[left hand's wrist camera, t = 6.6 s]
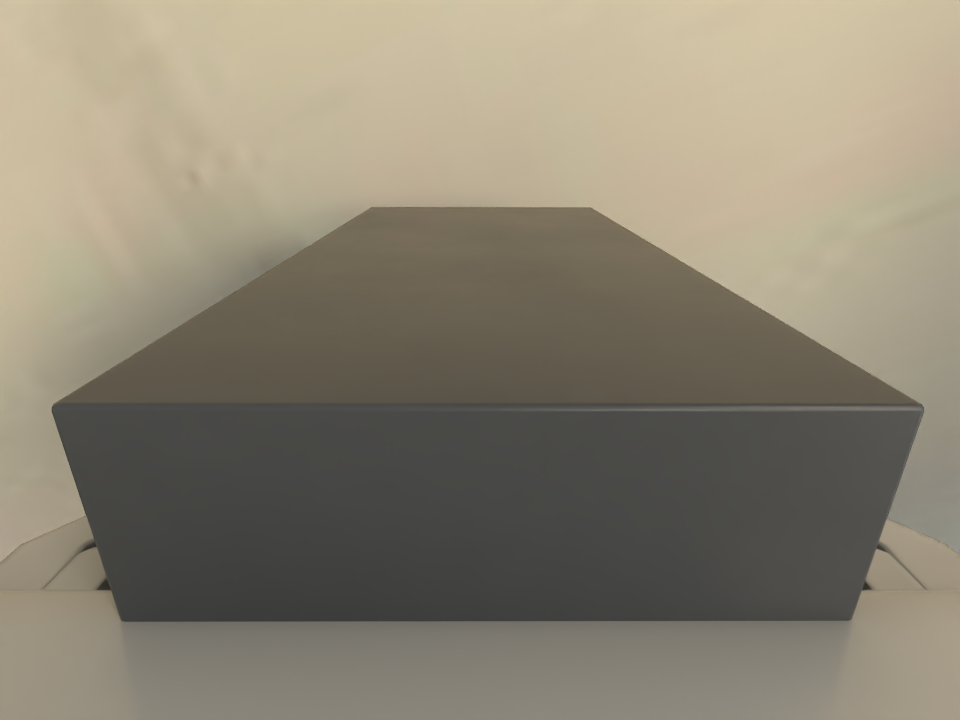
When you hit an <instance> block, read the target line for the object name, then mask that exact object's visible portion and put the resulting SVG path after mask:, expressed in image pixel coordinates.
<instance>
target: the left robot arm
mask: <svg viewBox="0 0 960 720" xmlns="http://www.w3.org/2000/svg"><path fill="white" fill-rule="evenodd" d="M0 720H960V555H958V554H957V553H956V552H955V551H954V550H953V549H952V548H950V547H949V546H948V545H946V544H943V543H941V542H939V541H937V540H934V539H932V538H930V537H928V536H925V535H923V534H921V533H919V532H916V531H914V530H912V529H910V528H907V527H905V526H903V525H901V524H898V523H896V522H894V521H892V520H889V519H886V522H885V525H884V528H883V531H882V534H881V537H880V539H879V542H878V545H877V548H876V551H875V554H874V557H873V560H872V562H871V565H870V568H869V571H868V574H867V577H866V580H865V583H864V586H863V588H862V591H861V594H860V597H859V600H858V603H857V606H856V609H855V611H854V614H853V617H852V620H849V621H311V622H124V621H121V619H120V616H119V613H118V610H117V607H116V604H115V601H114V598H113V595H112V592H111V589H110V586H109V583H108V580H107V577H106V574H105V571H104V568H103V565H102V562H101V559H100V556H99V552H98V549H97V546H96V543H95V540H94V537H93V534H92V531H91V528H90V525H89V522H88V519H87V516H84V517H82V518H80V519H78V520H75V521H73V522H71V523H69V524H66V525H64V526H62V527H60V528H57V529H55V530H53V531H51V532H48V533H46V534H44V535H42V536H39V537H37V538H35V539H33V540H31V541H28V542H26V543H24V544H22V545H20V546H19V547H18V548H17V549H15V550H14V551H13V552H12V553H11V554H10V555H9V556H7V557H6V558H5V559H4V560H3V561H2V562H1V563H0Z"/></svg>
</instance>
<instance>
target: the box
mask: <svg viewBox="0 0 960 720" xmlns="http://www.w3.org/2000/svg"><path fill="white" fill-rule="evenodd" d="M923 413H924V407H923V406H922V404H920V403H918V402H917V401H915V400H913V399H911V398H910V397H908V396H906V395H905V394H903V393H901V392H900V391H898V390H896V389H895V388H893V387H891V386H890V385H888V384H886V383H885V382H883V381H881V380H880V379H878V378H876V377H875V376H873V375H871V374H869V373H868V372H866V371H864V370H863V369H861V368H859V367H858V366H856V365H854V364H853V363H851V362H849V361H848V360H846V359H844V358H843V357H841V356H839V355H838V354H836V353H834V352H833V351H831V350H829V349H827V348H826V347H824V346H822V345H821V344H819V343H817V342H816V341H814V340H812V339H811V338H809V337H807V336H806V335H804V334H802V333H801V332H799V331H797V330H796V329H794V328H792V327H791V326H789V325H787V324H785V323H784V322H782V321H780V320H779V319H777V318H775V317H774V316H772V315H770V314H769V313H767V312H765V311H764V310H762V309H760V308H759V307H757V306H755V305H754V304H752V303H750V302H749V301H747V300H745V299H743V298H742V297H740V296H738V295H737V294H735V293H733V292H732V291H730V290H728V289H727V288H725V287H723V286H722V285H720V284H718V283H717V282H715V281H713V280H712V279H710V278H708V277H707V276H705V275H703V274H701V273H700V272H698V271H696V270H695V269H693V268H691V267H690V266H688V265H686V264H685V263H683V262H681V261H680V260H678V259H676V258H675V257H673V256H671V255H670V254H668V253H666V252H664V251H663V250H661V249H659V248H658V247H656V246H654V245H653V244H651V243H649V242H648V241H646V240H644V239H643V238H641V237H639V236H638V235H636V234H634V233H633V232H631V231H629V230H628V229H626V228H624V227H622V226H621V225H619V224H617V223H616V222H614V221H612V220H611V219H609V218H607V217H606V216H604V215H602V214H601V213H599V212H597V211H596V210H594V209H592V208H506V207H372V208H370V209H368V210H367V211H365V212H363V213H362V214H360V215H359V216H357V217H355V218H354V219H352V220H350V221H349V222H347V223H346V224H344V225H342V226H341V227H339V228H338V229H336V230H334V231H333V232H331V233H329V234H328V235H326V236H325V237H323V238H321V239H320V240H318V241H316V242H315V243H313V244H312V245H310V246H308V247H307V248H305V249H304V250H302V251H300V252H299V253H297V254H295V255H294V256H292V257H291V258H289V259H287V260H286V261H284V262H283V263H281V264H279V265H278V266H276V267H274V268H273V269H271V270H270V271H268V272H266V273H265V274H263V275H262V276H260V277H258V278H257V279H255V280H253V281H252V282H250V283H249V284H247V285H245V286H244V287H242V288H241V289H239V290H237V291H236V292H234V293H232V294H231V295H229V296H228V297H226V298H224V299H223V300H221V301H220V302H218V303H216V304H215V305H213V306H211V307H210V308H208V309H207V310H205V311H203V312H202V313H200V314H199V315H197V316H195V317H194V318H192V319H190V320H189V321H187V322H186V323H184V324H182V325H181V326H179V327H178V328H176V329H174V330H173V331H171V332H169V333H168V334H166V335H165V336H163V337H161V338H160V339H158V340H157V341H155V342H153V343H152V344H150V345H148V346H147V347H145V348H144V349H142V350H140V351H139V352H137V353H136V354H134V355H132V356H131V357H129V358H127V359H126V360H124V361H123V362H121V363H119V364H118V365H116V366H115V367H113V368H111V369H110V370H108V371H106V372H105V373H103V374H102V375H100V376H98V377H97V378H95V379H94V380H92V381H90V382H89V383H87V384H85V385H84V386H82V387H81V388H79V389H77V390H76V391H74V392H73V393H71V394H69V395H68V396H66V397H64V398H63V399H61V400H60V401H58V402H56V403H55V404H54V405H53V406H52V414H53V417H54V420H55V423H56V426H57V429H58V432H59V435H60V438H61V441H62V444H63V447H64V450H65V453H66V456H67V459H68V462H69V465H70V468H71V471H72V474H73V477H74V480H75V483H76V486H77V489H78V492H79V495H80V498H81V501H82V504H83V507H84V510H85V513H86V516H87V519H88V522H89V525H90V528H91V531H92V534H93V537H94V540H95V543H96V546H97V549H98V552H99V556H100V559H101V562H102V565H103V568H104V571H105V574H106V577H107V580H108V583H109V586H110V589H111V592H112V595H113V598H114V601H115V604H116V607H117V610H118V613H119V616H120V619H121V621H124V622H311V621H849V620H852V617H853V614H854V611H855V609H856V606H857V603H858V600H859V597H860V594H861V591H862V588H863V586H864V583H865V580H866V577H867V574H868V571H869V568H870V565H871V562H872V560H873V557H874V554H875V551H876V548H877V545H878V542H879V539H880V537H881V534H882V531H883V528H884V525H885V522H886V519H887V516H888V513H889V511H890V508H891V505H892V502H893V499H894V496H895V493H896V490H897V488H898V485H899V482H900V479H901V476H902V473H903V470H904V467H905V464H906V462H907V459H908V456H909V453H910V450H911V447H912V444H913V441H914V439H915V436H916V433H917V430H918V427H919V424H920V421H921V418H922V415H923Z"/></svg>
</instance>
